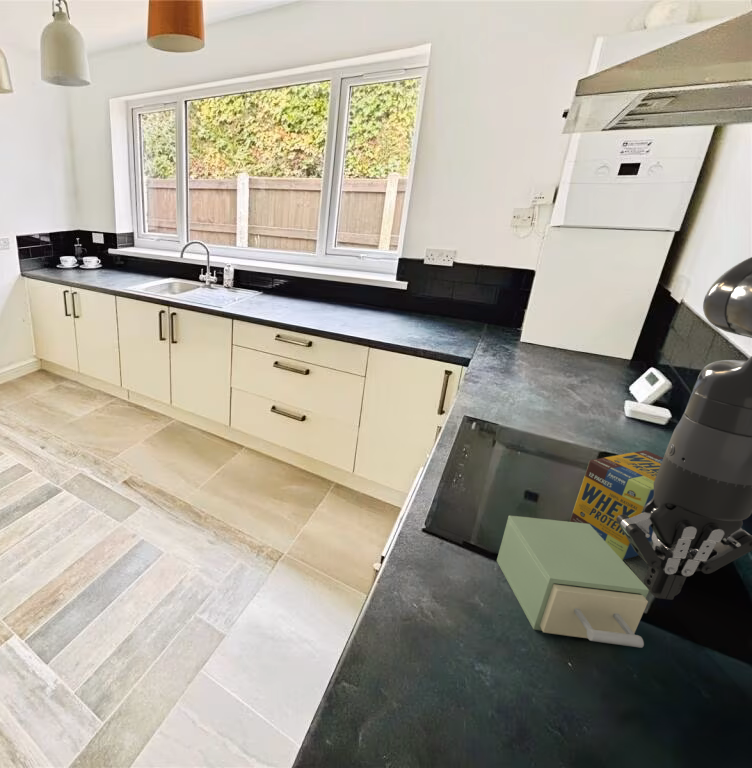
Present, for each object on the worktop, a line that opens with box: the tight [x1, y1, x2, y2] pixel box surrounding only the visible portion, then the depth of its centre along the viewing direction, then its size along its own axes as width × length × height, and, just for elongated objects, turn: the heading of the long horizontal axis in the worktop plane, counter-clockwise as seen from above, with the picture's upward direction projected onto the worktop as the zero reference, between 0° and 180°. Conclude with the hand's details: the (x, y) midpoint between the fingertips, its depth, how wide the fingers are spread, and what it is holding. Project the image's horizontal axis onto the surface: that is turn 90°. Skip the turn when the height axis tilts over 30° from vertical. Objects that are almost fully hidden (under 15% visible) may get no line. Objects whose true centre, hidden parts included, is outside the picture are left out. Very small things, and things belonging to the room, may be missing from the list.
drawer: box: [540, 583, 649, 649], centre depth 68 cm, size 18×11×8 cm, turn 171°
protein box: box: [569, 449, 664, 564], centre depth 85 cm, size 10×15×16 cm
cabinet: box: [496, 514, 650, 632], centre depth 72 cm, size 15×13×10 cm
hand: (658, 593), depth 53 cm, fingers closed
